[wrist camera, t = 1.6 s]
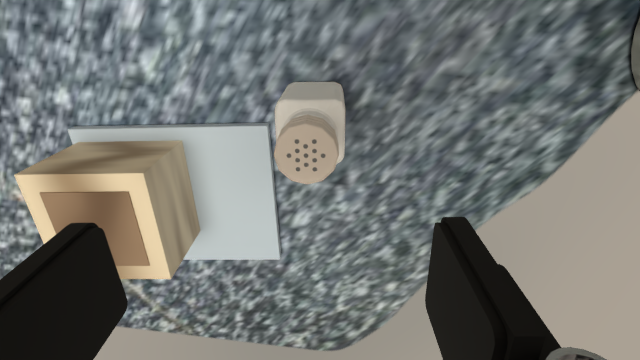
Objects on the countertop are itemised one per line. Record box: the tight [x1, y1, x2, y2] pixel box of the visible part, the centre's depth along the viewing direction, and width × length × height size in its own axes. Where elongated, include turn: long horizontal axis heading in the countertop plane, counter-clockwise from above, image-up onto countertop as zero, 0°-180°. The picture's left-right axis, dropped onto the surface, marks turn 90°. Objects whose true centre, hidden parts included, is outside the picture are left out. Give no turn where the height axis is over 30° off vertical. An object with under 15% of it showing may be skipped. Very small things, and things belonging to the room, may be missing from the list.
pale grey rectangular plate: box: [68, 123, 281, 260], centre depth 29 cm, size 15×12×1 cm
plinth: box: [14, 140, 200, 279], centre depth 26 cm, size 8×8×6 cm
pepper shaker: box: [274, 82, 345, 184], centre depth 22 cm, size 4×4×10 cm
